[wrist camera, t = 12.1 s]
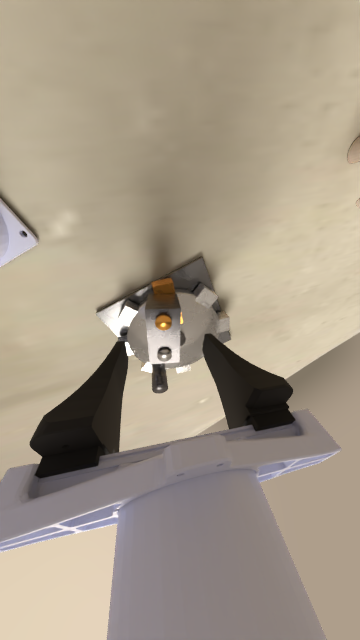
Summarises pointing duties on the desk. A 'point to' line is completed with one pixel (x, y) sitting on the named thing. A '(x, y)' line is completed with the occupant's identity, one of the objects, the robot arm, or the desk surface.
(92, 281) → the desk surface
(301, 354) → the desk surface
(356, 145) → the pipe connector
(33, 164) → the desk surface
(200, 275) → the plate
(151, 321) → the two-button control panel
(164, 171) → the desk surface
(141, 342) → the sprocket
